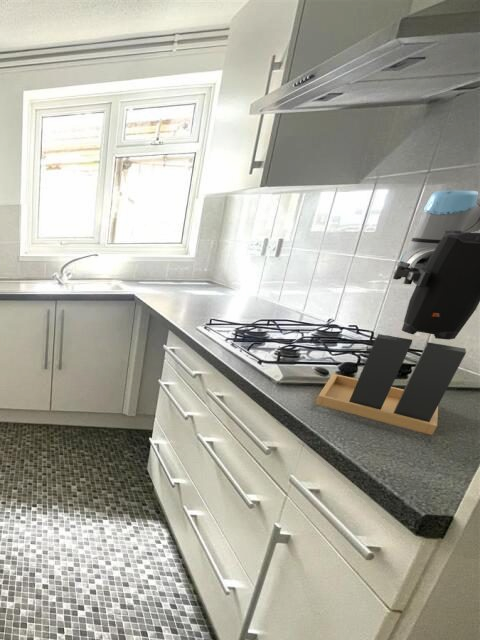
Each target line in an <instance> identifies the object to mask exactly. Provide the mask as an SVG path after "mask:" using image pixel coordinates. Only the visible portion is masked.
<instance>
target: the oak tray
mask: <svg viewBox="0 0 480 640" xmlns="http://www.w3.org/2000/svg"><path fill="white" fill-rule="evenodd" d="M358 380H359V378H355V377H350V376H345V375H341V374H337V373H332V375H331V376H330V378H329V379H328V381H327V382H326V384H325V385H324V386H323V388H322V389H321V391H320V393H319V394H318V396H317V398H316V401H315V405H318V406H320V407H321V406H322V407H325V408H329V409H333V410H337V411H341V412H345V413H348V414H351V415H355V416H360V417H363V418H367V419H369V420H374V421H378V422H381V423H385V424H388V425H393V426H396V427H400V428H404V429H407V430H411V431H415V432H419V433H422V434H426V435H430V436H433V435H434V433H435V431H436V429H437V427H438V421H439V419H438V418H439V417H438V416H439V406H438V407H437V409H436V410H435V412H434V414H433V416H432V418H431V420H430V422H426V421H422V420H419V419H415V418H411V417H407V416H403V415H399V414H395V413H393V412H394V410H395V408H396V406H397V404H398V402H399V399H400V397H401V395H402V393H403V391H404V389H405V388H399V387H394V386H392V387H391V389H390V391H389V393H388V395H387V397H386V399H385V401H384V404H383V406H382V408H381V410H379V409H375V408H372V407H368V406H364V405H360V404H356V403H352V402H349V401H350V398H351V396H352V394H353V391H354V389H355V387H356V384H357V382H358Z"/></svg>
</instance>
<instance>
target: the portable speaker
mask: <svg viewBox="0 0 480 640" xmlns="http://www.w3.org/2000/svg"><path fill="white" fill-rule="evenodd" d="M424 269H425V270H427V271H429V272H431V274H430V276H429V279H428V281H427V283H426V285H425V287H419V286H417V285H416V284H415V285H416V286H415V287H414V290H413V292H412V294H411V297H410V299H409V300H408V301H409V302H408V305H407V309H406V312H405V314H404V315H405V316H404V320H403V324H402V327H401V331H402V332H404V333H407V334H410V335H415V334H416V333H423V334H429V335H433V336H434V338H435V339H439V340H446V341H447V340H455V339H456V338H457V336H458V335H459V333H460V332H461V331H462V330H463V328H464V326H466V324H467V322H468V321H469V320H470V318H471V317H472V315H473V314H474V312H475V311H476V310H477V308H478V307H479V305H480V232H462V231H461V230H448V231H445V234H444V236H443V238H442V239H441V241H440V242H439V244H438V246H437V247H436V249H435V250H434V252H433V253H432V255H431V257H430V258H429V260H428V261H427V263H426V266H425V268H424Z"/></svg>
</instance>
